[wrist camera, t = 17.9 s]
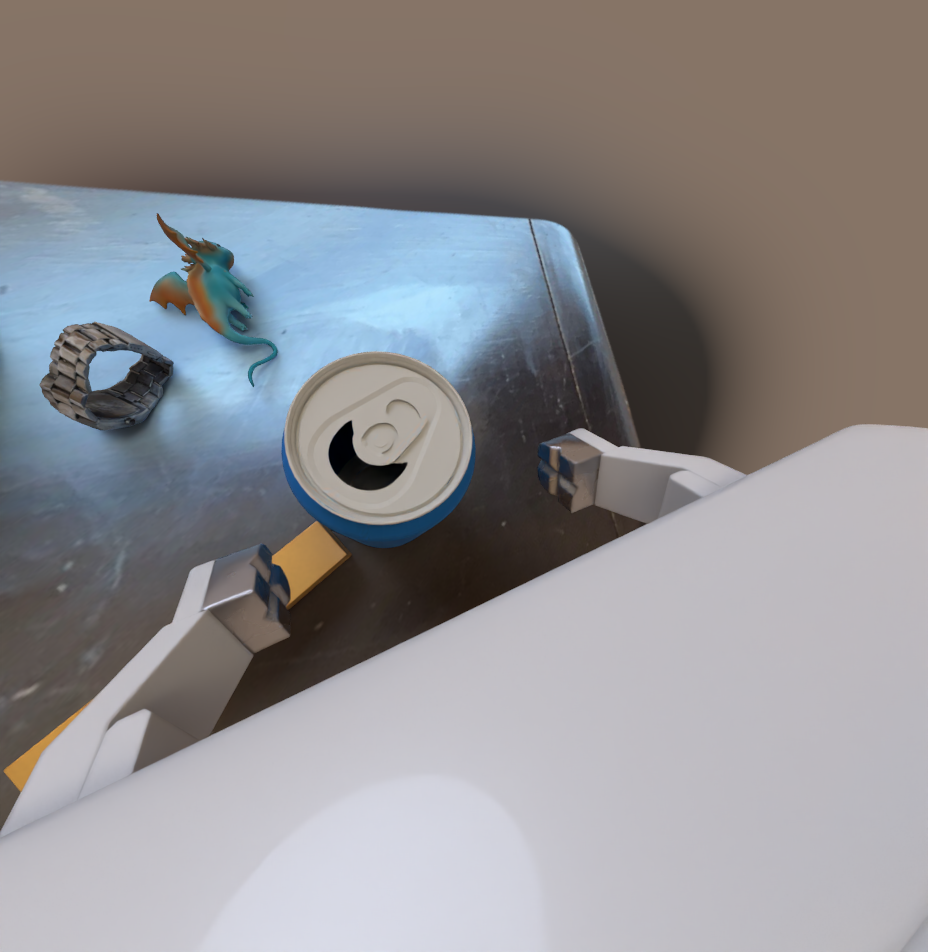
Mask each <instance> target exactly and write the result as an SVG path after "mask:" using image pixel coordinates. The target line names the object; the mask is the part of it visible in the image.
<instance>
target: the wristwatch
mask: <svg viewBox="0 0 928 952" xmlns="http://www.w3.org/2000/svg"><path fill="white" fill-rule="evenodd" d="M63 331H64V333H61V334H60V336H59V339H58V340H56V341H55V344H54V345H55V346H56V347H53V349H52V352H51V355H50V357H51V359H52V360H53V361H52V362H51V363H50V365H49V367H50V368H49V371H50V373H49V374H47V375H46V376H45V377H44V378H43V379H42V381H41V383H40V387H41V388H42V393H43V395H44V397H45V398H47V399H48V400H49V402H50V404H51V405H52V406H53V407H54V408H55V409H57V410H58V411H59V412H60V413H62V414H64V415H65V416H67V417H69V418H71V419H73V420H75V421H77V422H80V423H82V424H85V425H87V426H90V427H93V428H96V429H99V430H112V429H119V428H124V427H129V426H133V425H135V424H138V423H140V422H142V421H144V420H145V419H146V418H147V416H148V415H149V413H150V410H151V409H153V408H154V407H155V406H156V404H157V402H158V399H159V398H161V397H162V396H163V388H162V384H164V383H165V382H166V381H167V379H168V376H169V377H171V376H172V374H173V362H172V361H171V360H170V359H168V358H166V357H164V356H163V355H162V354H160V353H159V352H158V351H156V350H154V349H153V348H151V347H150V346H148V345H146V344H145V343H143V342H141V341H139V340H138V339H136V338H135V337H133V336H131V335H130V334H128V333H126V332H124V331H122V330H120V329H118V328H116V327H112V326H109V325H105V324H101V323H97V322H94V323H92V324H83V325H78V324H75V325H71V326H67V327H66V328H64V329H63ZM117 350H129V351H133V352H137V353H140V354H142V356H141V358H140V360H139V361H138V362H137V363H135V364H134V365H133V366H131V367H130V368H129V369H130V371H129V373H128V374H127V376H126V377H125V379H124V380H123V381H120V382H119V383H117V384H116V385H114V386H112V387H110V388H108V389H105V390H97V391H92V390H91V386H90V382H89V379H88V375H89V364H90V363H91V361H92V359H93V358H94V357H95V356H96V351H102V352H104V351H117Z"/></svg>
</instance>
